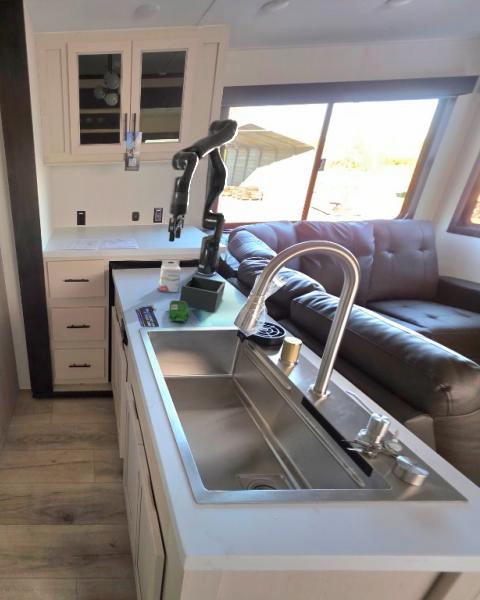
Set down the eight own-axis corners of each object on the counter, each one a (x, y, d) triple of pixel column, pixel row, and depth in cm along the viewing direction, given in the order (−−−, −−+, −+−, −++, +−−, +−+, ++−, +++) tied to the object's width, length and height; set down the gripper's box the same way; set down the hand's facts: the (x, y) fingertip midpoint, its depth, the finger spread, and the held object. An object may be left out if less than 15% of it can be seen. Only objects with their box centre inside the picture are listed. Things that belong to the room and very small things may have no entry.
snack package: (168, 325, 120) (169, 312, 118) (168, 307, 134) (170, 296, 132) (187, 327, 119) (189, 315, 116) (186, 310, 132) (188, 298, 130)
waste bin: (189, 293, 149) (192, 275, 146) (221, 300, 142) (225, 281, 138) (179, 304, 137) (181, 285, 134) (214, 312, 130) (217, 293, 126)
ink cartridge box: (159, 291, 151) (163, 262, 145) (158, 287, 155) (161, 259, 149) (178, 292, 150) (182, 262, 144) (176, 288, 154) (180, 259, 149)
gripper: (182, 205, 129) (177, 243, 135) (192, 201, 140) (187, 238, 146) (165, 203, 133) (161, 241, 139) (175, 200, 143) (171, 236, 150)
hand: (174, 239), depth 143 cm, fingers open, 8 cm apart
